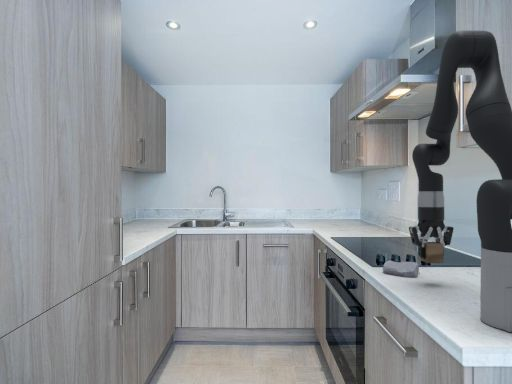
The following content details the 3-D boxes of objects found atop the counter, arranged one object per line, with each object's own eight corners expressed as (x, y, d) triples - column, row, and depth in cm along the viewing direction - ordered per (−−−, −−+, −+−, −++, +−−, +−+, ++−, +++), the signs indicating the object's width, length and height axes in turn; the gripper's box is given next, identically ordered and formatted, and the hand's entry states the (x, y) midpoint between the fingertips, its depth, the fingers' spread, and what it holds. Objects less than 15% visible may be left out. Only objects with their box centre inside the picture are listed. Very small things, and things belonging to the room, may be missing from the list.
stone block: (417, 284, 112) (419, 271, 120) (417, 271, 111) (419, 259, 120) (381, 280, 118) (385, 269, 126) (380, 268, 117) (384, 257, 126)
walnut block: (443, 262, 102) (443, 243, 102) (428, 263, 102) (428, 244, 102) (433, 259, 107) (433, 241, 107) (419, 260, 107) (419, 241, 107)
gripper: (415, 206, 100) (416, 261, 100) (460, 205, 101) (460, 260, 101) (403, 205, 108) (403, 256, 108) (444, 205, 109) (445, 256, 109)
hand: (431, 258), depth 104 cm, fingers closed on walnut block, 5 cm apart
